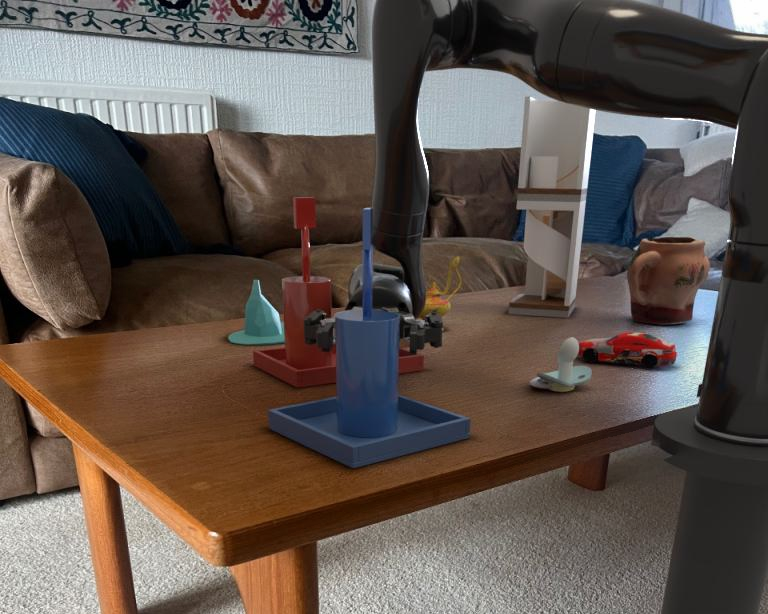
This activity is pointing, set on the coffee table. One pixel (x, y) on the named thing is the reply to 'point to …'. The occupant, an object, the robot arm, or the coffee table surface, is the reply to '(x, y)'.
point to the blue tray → (414, 433)
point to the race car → (629, 350)
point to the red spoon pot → (304, 297)
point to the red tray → (276, 366)
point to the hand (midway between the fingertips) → (369, 342)
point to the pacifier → (564, 370)
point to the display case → (553, 203)
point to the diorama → (259, 322)
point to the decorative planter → (666, 279)
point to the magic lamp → (433, 297)
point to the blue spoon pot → (367, 359)
